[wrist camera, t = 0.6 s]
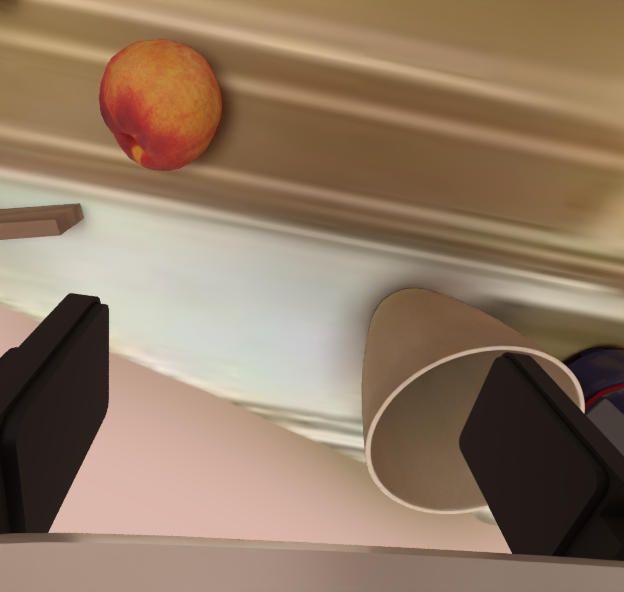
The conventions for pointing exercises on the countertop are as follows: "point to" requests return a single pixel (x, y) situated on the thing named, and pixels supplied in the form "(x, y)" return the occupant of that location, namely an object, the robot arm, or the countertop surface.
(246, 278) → the countertop surface
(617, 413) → the smoke canister
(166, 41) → the fruit
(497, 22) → the countertop surface
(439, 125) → the countertop surface
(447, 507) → the plant pot
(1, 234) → the box
